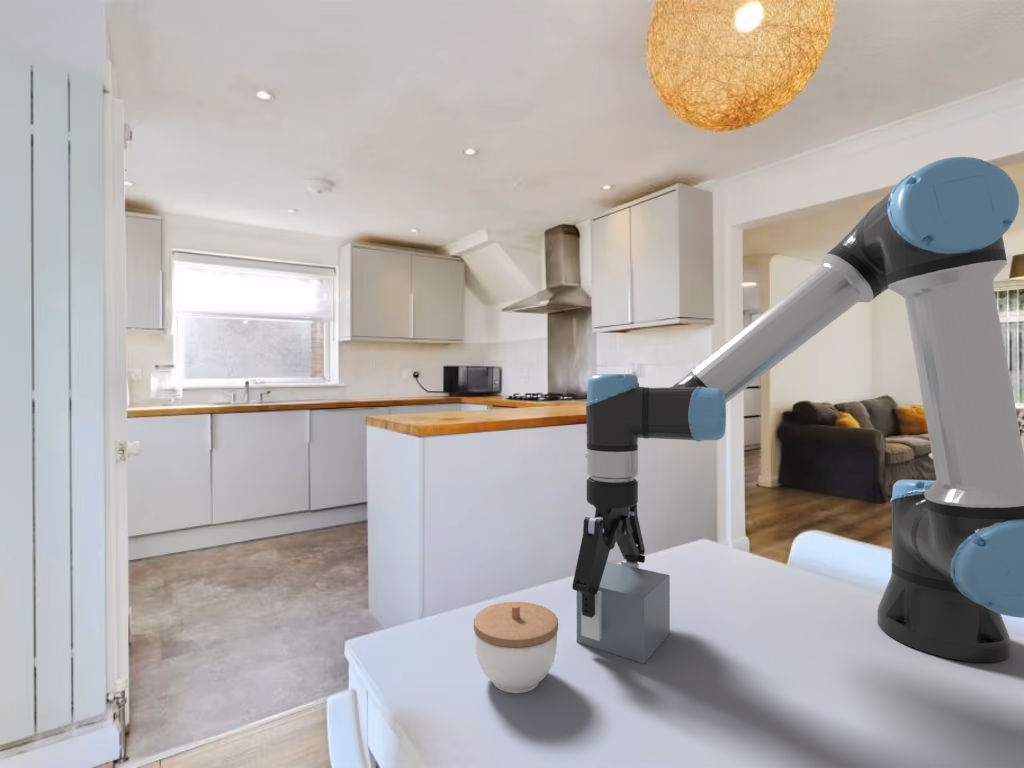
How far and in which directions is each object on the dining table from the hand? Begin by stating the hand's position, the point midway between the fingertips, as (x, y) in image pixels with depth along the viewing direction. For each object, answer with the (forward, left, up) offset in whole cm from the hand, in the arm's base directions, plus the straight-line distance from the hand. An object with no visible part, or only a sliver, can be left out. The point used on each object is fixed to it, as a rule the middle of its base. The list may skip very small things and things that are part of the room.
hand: (611, 619), depth 79 cm
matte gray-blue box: (-2, 0, -2) cm, 3 cm away
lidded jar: (+5, +18, -2) cm, 19 cm away
